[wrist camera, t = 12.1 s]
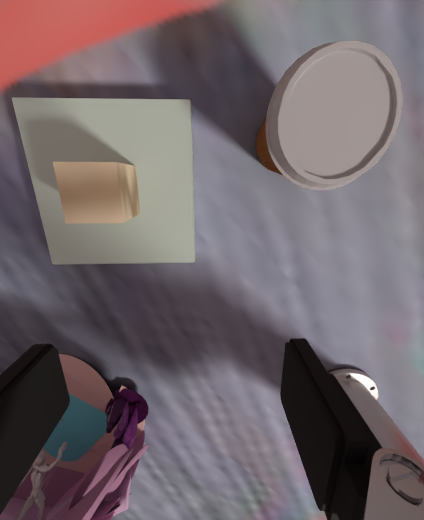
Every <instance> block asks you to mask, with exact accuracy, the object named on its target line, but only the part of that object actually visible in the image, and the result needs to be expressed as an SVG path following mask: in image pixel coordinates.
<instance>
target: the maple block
mask: <svg viewBox="0 0 424 520" xmlns="http://www.w3.org/2000/svg"><path fill="white" fill-rule="evenodd" d="M53 166H54V171H55V175H56V180H57V185H58V190H59V194H60V199H61V204H62V209H63V214H64V218H65V223H66V224H77V223H125V222H126V221H128V220H130V219H132V218H133V217H135V216H137V215H139V214H140V205H139V195H138V185H137V175H136V166H134V165H129V164H124V163H118V162H53Z"/></svg>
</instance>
